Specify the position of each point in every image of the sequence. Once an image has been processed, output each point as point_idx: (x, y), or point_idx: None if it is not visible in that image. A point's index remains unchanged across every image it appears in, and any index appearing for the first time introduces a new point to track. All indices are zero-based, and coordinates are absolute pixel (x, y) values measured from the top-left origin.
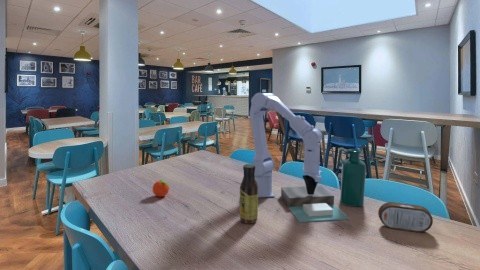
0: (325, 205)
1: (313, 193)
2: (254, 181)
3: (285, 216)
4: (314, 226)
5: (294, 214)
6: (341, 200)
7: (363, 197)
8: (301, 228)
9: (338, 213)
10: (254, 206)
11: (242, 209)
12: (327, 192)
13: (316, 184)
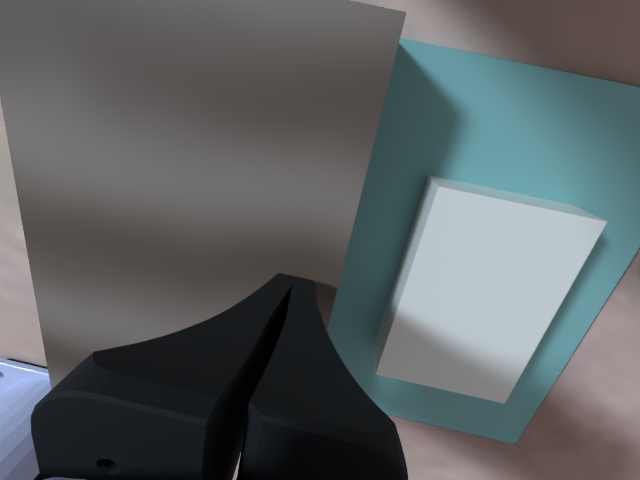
0: (486, 228)
1: (314, 288)
2: None
3: (406, 455)
4: (605, 399)
5: (419, 421)
6: None
7: None
8: (576, 461)
9: (583, 136)
10: None
11: None
12: (259, 27)
13: (343, 369)
